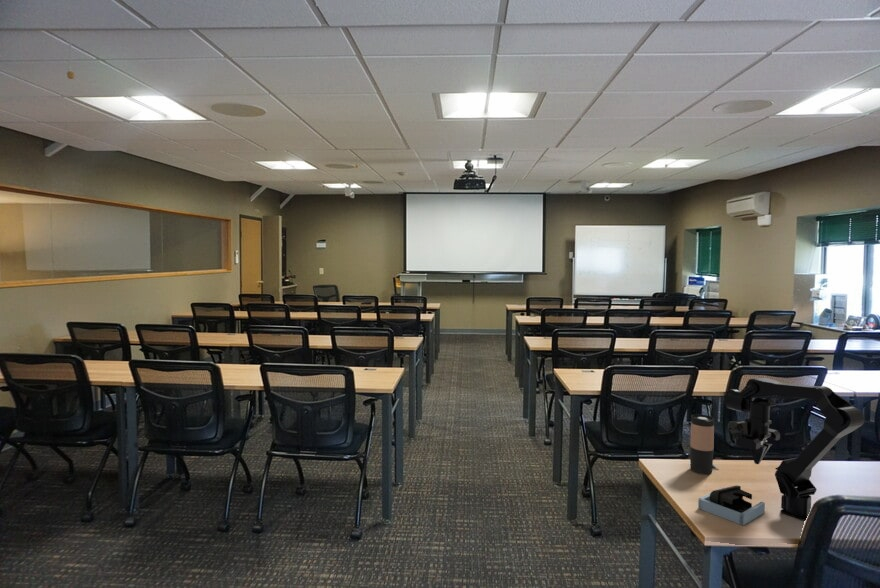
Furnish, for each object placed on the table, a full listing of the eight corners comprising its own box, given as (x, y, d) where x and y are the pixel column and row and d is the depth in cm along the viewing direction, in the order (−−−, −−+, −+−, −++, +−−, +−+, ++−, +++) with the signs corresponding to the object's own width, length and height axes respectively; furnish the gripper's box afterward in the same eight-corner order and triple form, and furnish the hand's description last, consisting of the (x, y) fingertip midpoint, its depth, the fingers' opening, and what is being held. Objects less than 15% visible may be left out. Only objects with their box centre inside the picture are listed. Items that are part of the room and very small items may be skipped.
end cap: (731, 503, 160) (731, 482, 159) (752, 513, 153) (753, 491, 153) (708, 508, 156) (709, 487, 155) (729, 519, 149) (730, 496, 149)
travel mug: (692, 465, 191) (693, 413, 190) (714, 470, 186) (716, 416, 186) (687, 471, 185) (688, 417, 184) (710, 476, 180) (712, 421, 180)
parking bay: (764, 512, 153) (764, 502, 153) (743, 525, 145) (743, 515, 145) (720, 496, 164) (720, 487, 164) (698, 508, 156) (698, 498, 156)
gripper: (745, 406, 175) (743, 450, 176) (718, 415, 164) (717, 462, 165) (781, 414, 166) (779, 460, 167) (756, 423, 155) (754, 473, 156)
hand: (756, 463), depth 164 cm, fingers closed
